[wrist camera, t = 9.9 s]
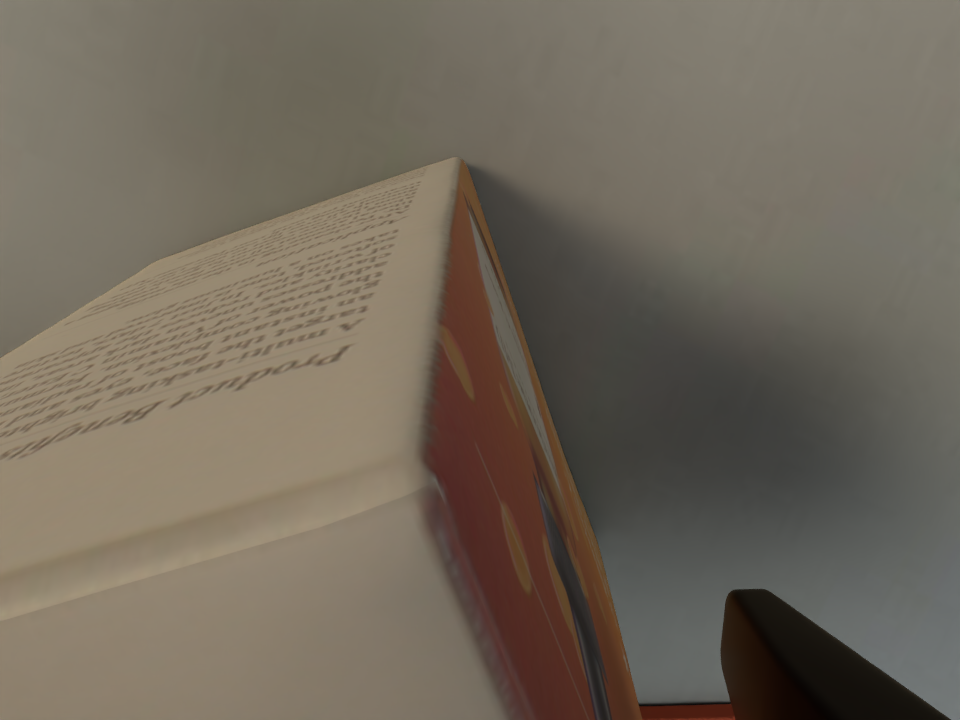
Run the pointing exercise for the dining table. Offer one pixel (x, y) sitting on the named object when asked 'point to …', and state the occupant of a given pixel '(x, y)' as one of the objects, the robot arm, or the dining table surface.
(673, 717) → the tea towel
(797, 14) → the dining table surface
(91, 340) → the small box
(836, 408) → the dining table surface
